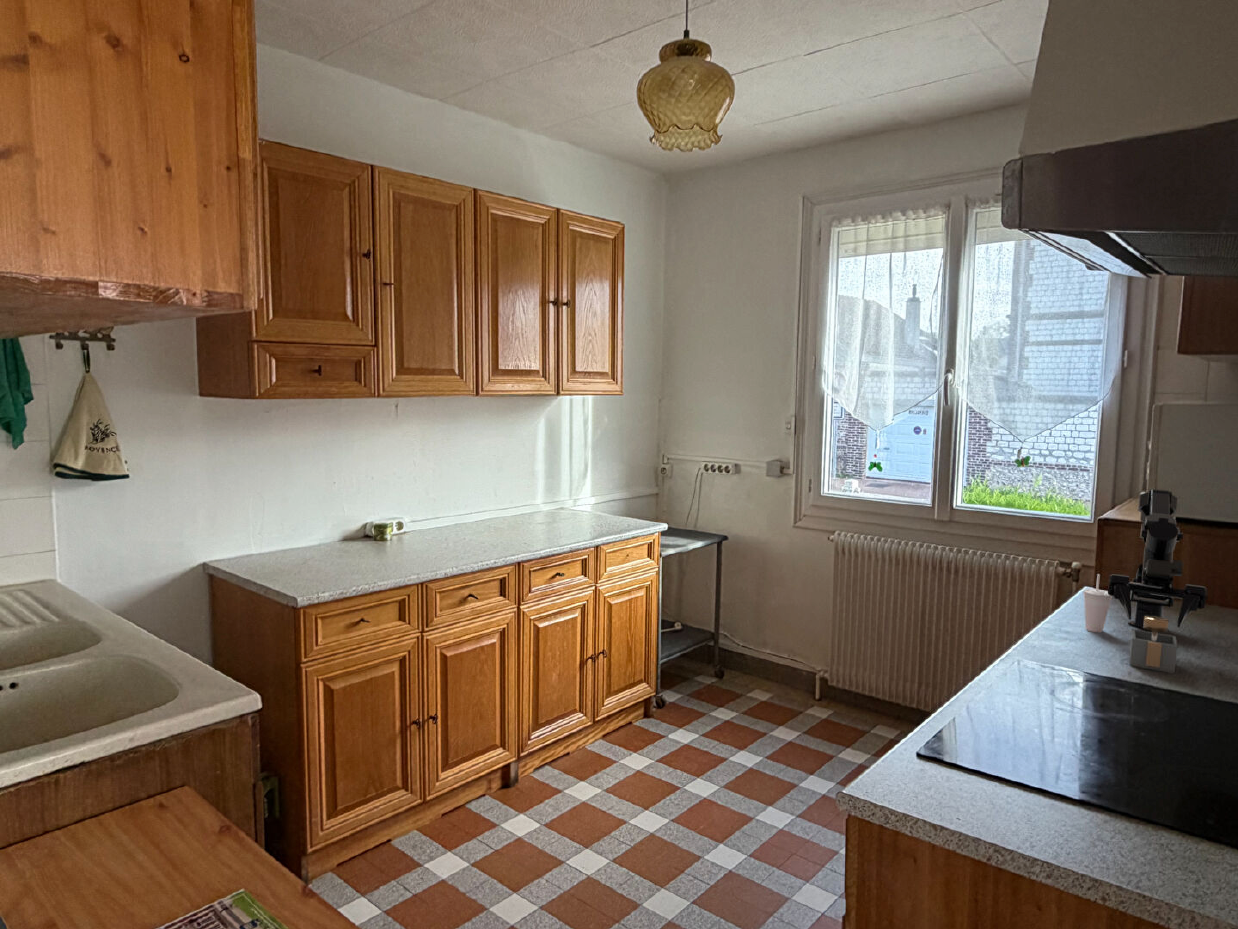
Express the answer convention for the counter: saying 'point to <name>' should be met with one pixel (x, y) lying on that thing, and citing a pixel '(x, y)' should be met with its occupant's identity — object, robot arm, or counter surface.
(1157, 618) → the plunger
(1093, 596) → the smoothie
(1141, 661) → the grey open box
